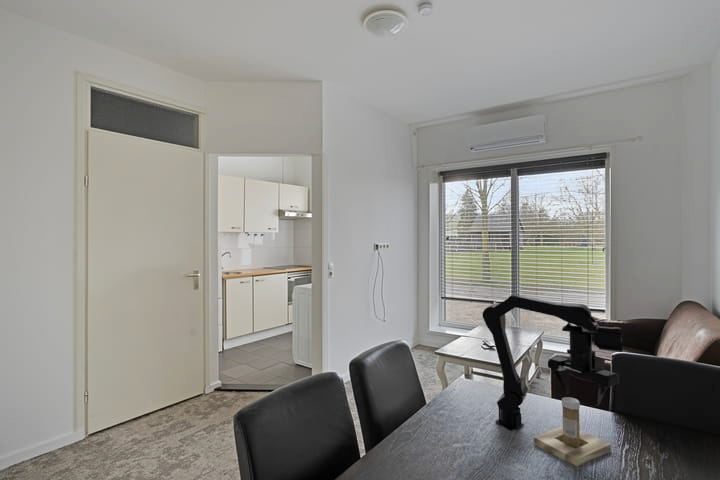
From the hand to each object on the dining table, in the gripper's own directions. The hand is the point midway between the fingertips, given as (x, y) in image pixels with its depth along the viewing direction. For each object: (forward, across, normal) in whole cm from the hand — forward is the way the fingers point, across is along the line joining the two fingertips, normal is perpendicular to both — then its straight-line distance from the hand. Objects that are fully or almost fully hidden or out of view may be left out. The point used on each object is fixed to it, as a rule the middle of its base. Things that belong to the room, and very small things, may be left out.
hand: (581, 399), depth 110 cm
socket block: (+13, 0, +5) cm, 14 cm away
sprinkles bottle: (+13, 0, +5) cm, 14 cm away
